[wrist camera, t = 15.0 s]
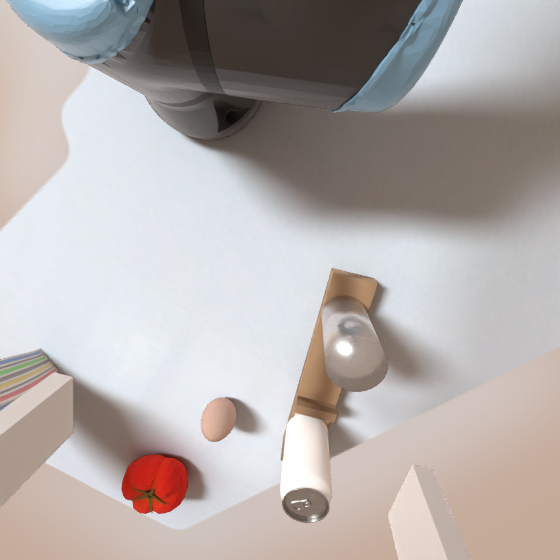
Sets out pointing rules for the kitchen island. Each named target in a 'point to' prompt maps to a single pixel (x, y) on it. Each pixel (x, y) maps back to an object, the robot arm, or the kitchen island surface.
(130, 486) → the tomato
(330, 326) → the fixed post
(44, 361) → the vase
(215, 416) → the egg
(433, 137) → the kitchen island surface
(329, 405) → the rail
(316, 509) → the can
